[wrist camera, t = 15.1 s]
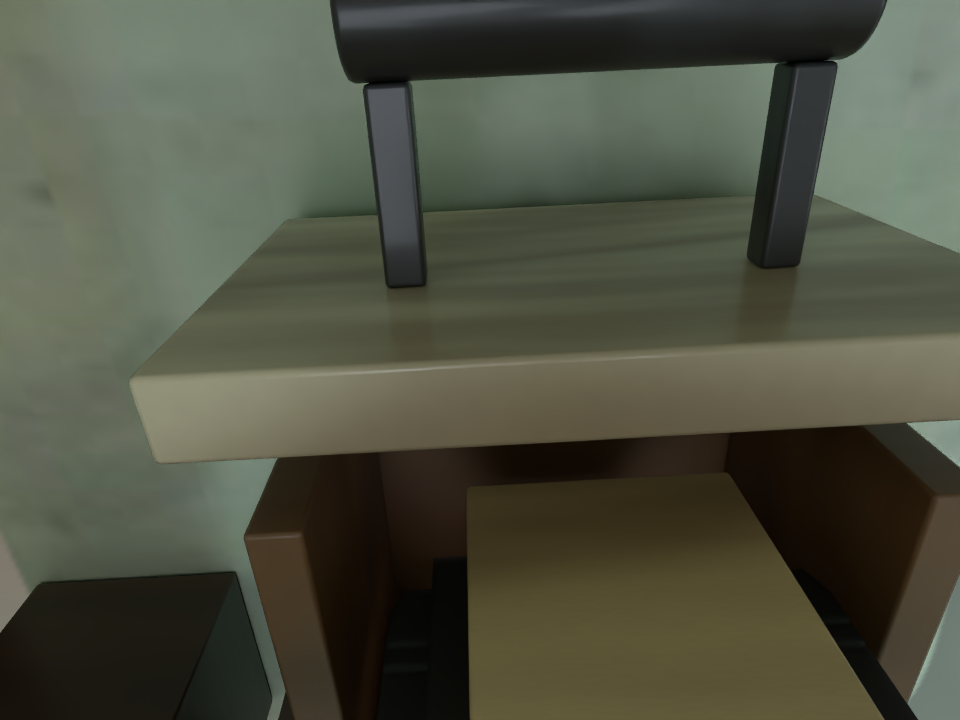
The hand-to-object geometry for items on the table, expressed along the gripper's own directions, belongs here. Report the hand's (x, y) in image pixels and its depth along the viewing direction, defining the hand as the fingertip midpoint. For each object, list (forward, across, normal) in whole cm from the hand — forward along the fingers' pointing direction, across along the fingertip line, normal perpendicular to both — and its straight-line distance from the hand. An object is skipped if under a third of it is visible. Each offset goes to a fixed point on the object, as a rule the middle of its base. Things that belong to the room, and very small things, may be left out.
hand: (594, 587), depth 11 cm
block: (0, 0, 0) cm, 0 cm away
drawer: (+5, 0, -1) cm, 5 cm away
